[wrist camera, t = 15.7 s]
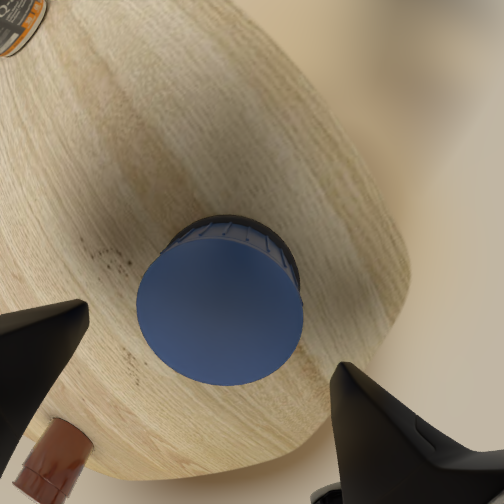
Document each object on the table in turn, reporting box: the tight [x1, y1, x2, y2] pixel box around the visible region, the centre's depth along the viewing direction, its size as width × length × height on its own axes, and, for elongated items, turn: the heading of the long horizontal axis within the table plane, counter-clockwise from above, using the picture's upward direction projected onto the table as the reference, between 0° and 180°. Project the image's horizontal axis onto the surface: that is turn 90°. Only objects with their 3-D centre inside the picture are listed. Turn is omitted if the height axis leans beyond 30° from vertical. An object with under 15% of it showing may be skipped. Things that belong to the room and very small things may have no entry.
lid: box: [136, 222, 303, 386], centre depth 12 cm, size 7×7×3 cm
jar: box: [12, 418, 93, 504], centre depth 14 cm, size 6×6×11 cm
